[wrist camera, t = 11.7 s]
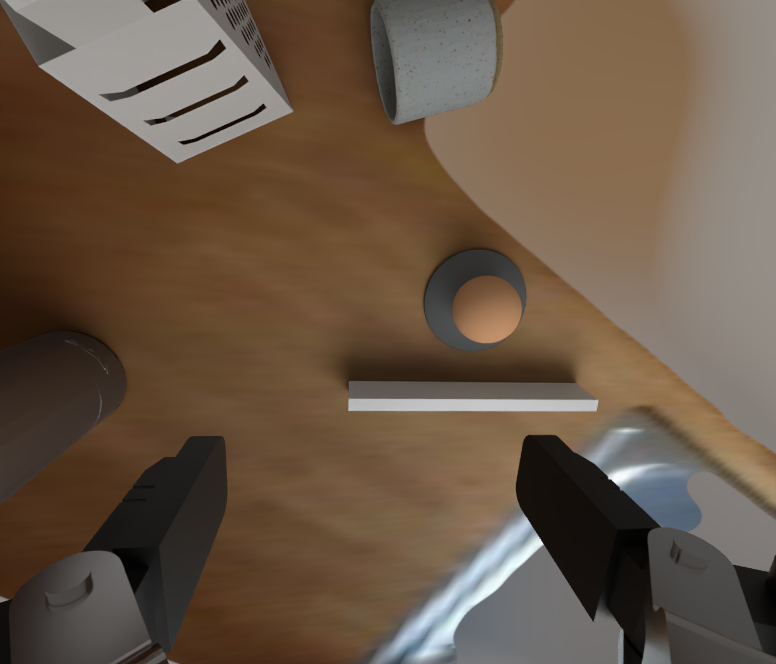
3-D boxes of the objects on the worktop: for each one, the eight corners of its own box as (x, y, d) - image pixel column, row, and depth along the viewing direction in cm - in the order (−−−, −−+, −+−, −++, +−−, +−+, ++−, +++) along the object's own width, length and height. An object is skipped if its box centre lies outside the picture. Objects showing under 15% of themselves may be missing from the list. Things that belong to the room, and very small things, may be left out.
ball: (471, 344, 39) (491, 366, 33) (432, 301, 38) (447, 316, 32) (518, 303, 38) (547, 319, 33) (481, 257, 37) (505, 265, 31)
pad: (467, 369, 40) (468, 370, 40) (402, 299, 38) (403, 300, 37) (544, 303, 39) (545, 304, 39) (483, 226, 36) (484, 226, 36)
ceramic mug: (481, 110, 34) (518, 79, 26) (388, 135, 33) (399, 110, 26) (456, -38, 31) (490, -120, 23) (354, -12, 30) (356, -86, 23)
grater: (228, -37, 29) (-1, -516, 10) (293, 111, 32) (211, -40, 13) (101, 22, 29) (-360, -335, 10) (177, 163, 32) (-68, 89, 13)
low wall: (348, 391, 40) (348, 410, 36) (348, 380, 39) (348, 398, 36) (573, 393, 42) (596, 411, 38) (575, 383, 42) (598, 399, 38)
